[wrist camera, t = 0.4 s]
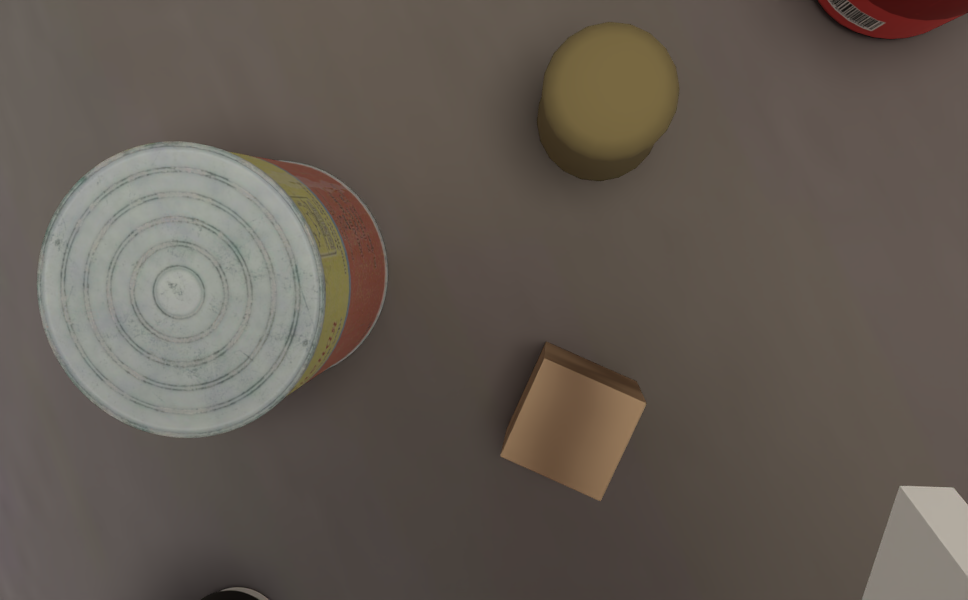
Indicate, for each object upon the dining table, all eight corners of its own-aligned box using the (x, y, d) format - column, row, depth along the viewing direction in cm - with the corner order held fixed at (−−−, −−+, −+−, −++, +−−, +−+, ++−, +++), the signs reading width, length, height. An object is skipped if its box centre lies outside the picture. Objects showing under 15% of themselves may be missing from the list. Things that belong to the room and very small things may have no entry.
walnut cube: (636, 381, 43) (646, 403, 38) (595, 468, 44) (600, 501, 39) (546, 341, 43) (544, 358, 38) (506, 428, 44) (500, 456, 39)
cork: (676, 75, 41) (718, 25, 30) (639, 195, 42) (668, 189, 31) (556, 42, 42) (556, -19, 31) (522, 162, 42) (509, 144, 31)
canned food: (165, 360, 45) (25, 413, 33) (187, 146, 44) (48, 122, 32) (373, 393, 44) (305, 460, 32) (401, 176, 43) (341, 163, 31)
